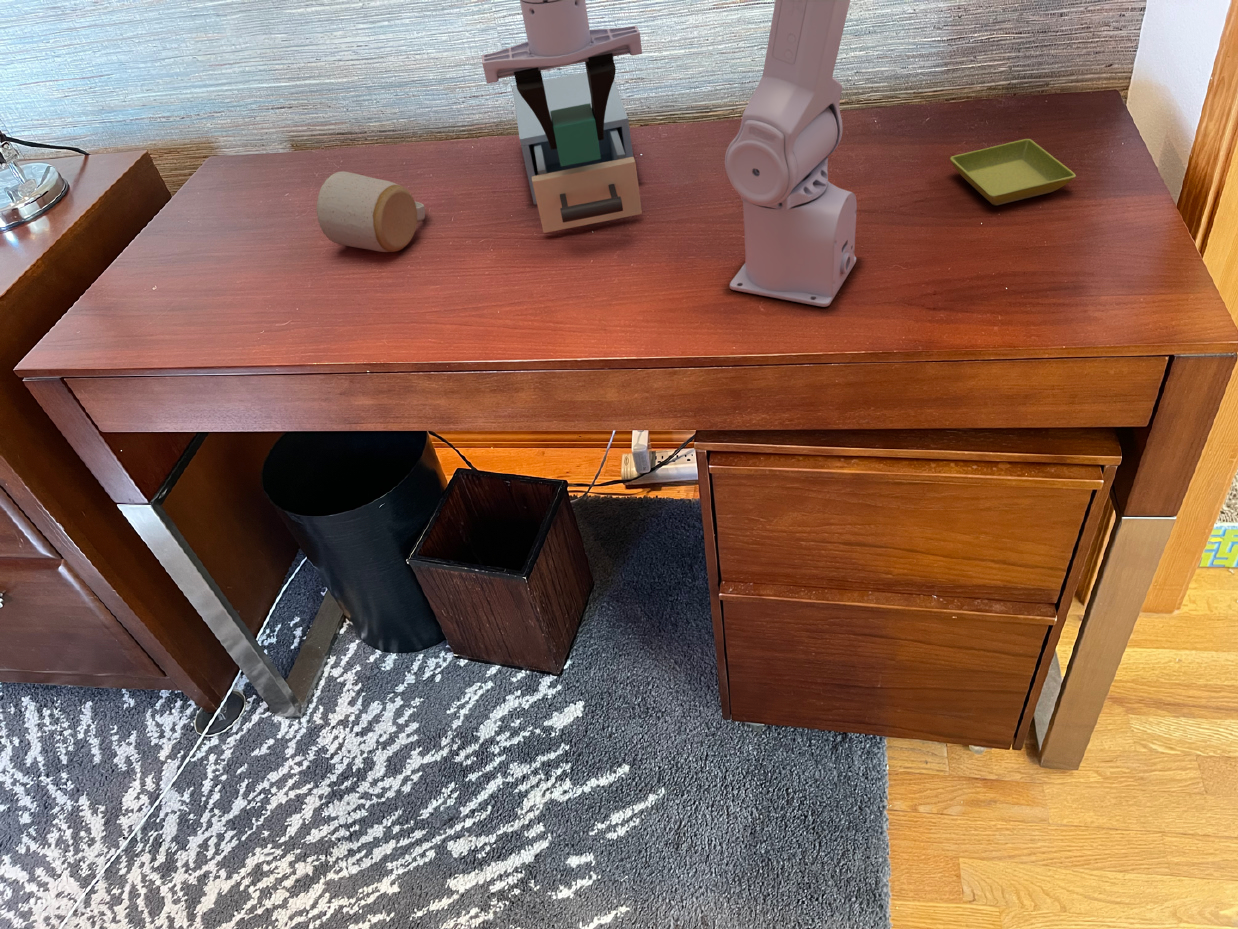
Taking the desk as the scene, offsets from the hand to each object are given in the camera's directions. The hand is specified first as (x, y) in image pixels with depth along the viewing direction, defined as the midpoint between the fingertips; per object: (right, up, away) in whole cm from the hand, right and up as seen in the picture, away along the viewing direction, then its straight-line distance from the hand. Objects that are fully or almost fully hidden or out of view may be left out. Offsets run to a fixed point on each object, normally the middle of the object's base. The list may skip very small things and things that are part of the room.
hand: (576, 140), depth 88 cm
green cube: (0, -1, +1) cm, 1 cm away
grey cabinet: (-1, +3, +17) cm, 17 cm away
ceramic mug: (-21, -7, +11) cm, 25 cm away
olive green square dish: (+43, -4, +1) cm, 43 cm away
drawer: (+1, -4, +8) cm, 9 cm away
